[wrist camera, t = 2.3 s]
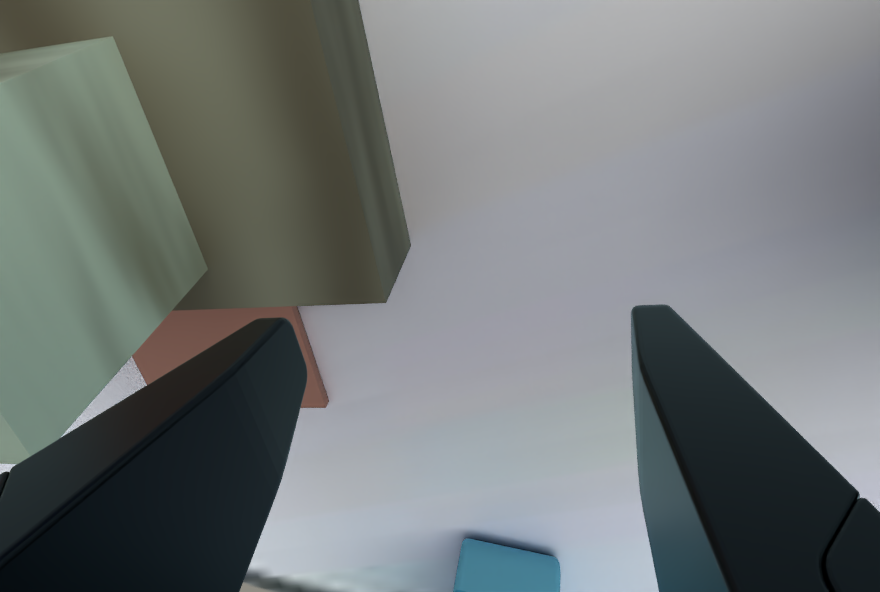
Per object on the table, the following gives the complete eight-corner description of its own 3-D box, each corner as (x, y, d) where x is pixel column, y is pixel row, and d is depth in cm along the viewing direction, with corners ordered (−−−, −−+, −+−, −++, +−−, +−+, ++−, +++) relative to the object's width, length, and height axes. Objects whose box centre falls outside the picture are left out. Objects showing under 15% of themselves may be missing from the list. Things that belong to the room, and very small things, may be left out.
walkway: (340, -81, 18) (294, -66, 15) (410, 245, 23) (385, 302, 20) (-255, 29, 23) (-373, 56, 20) (-87, 274, 29) (-161, 322, 26)
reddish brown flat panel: (58, -401, 15) (46, -406, 15) (328, 401, 28) (325, 407, 28) (-203, -312, 17) (-218, -314, 17) (163, 401, 30) (158, 407, 30)
